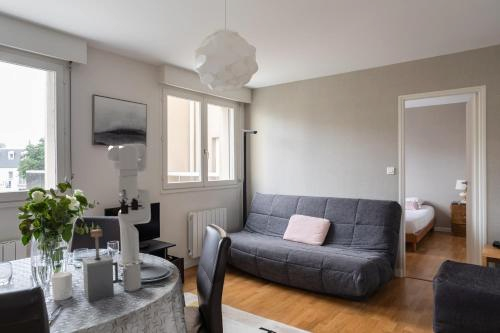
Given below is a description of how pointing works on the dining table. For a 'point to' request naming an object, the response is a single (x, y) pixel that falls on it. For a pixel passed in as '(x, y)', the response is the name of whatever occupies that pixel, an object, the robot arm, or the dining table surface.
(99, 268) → the press carafe
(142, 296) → the dining table surface
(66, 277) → the white cup
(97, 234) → the plunger
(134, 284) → the can
